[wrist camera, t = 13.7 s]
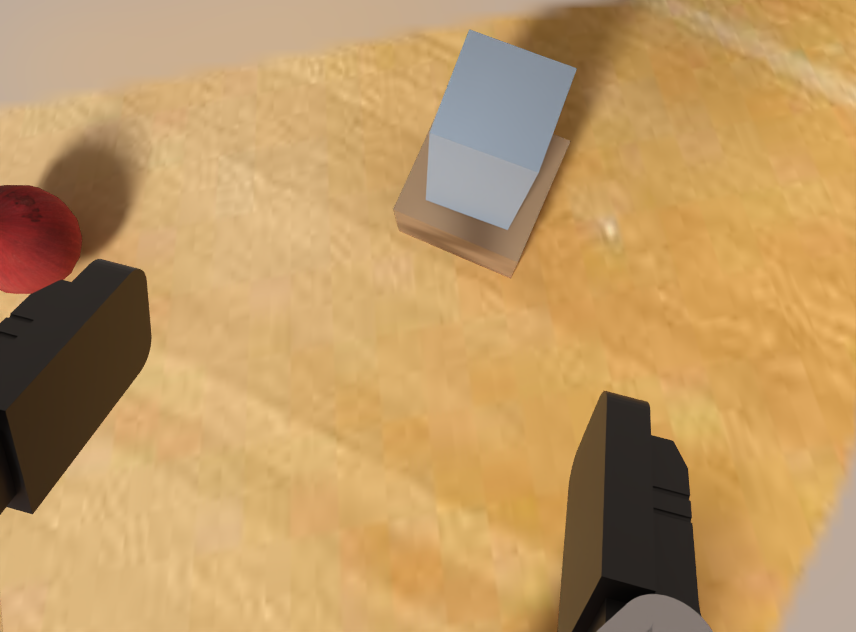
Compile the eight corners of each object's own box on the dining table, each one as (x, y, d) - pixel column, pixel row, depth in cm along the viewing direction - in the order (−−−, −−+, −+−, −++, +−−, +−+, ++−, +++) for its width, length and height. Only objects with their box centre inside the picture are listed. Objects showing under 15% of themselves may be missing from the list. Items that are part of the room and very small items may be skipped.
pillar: (425, 200, 40) (429, 132, 30) (455, 121, 40) (469, 29, 31) (507, 230, 40) (538, 172, 30) (536, 150, 40) (576, 68, 30)
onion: (12, 205, 46) (-81, 162, 38) (108, 205, 46) (35, 161, 38) (5, 302, 45) (-91, 279, 37) (102, 302, 45) (27, 279, 37)
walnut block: (399, 231, 45) (393, 209, 40) (447, 125, 46) (447, 90, 41) (510, 278, 45) (517, 262, 40) (557, 170, 45) (570, 141, 40)
